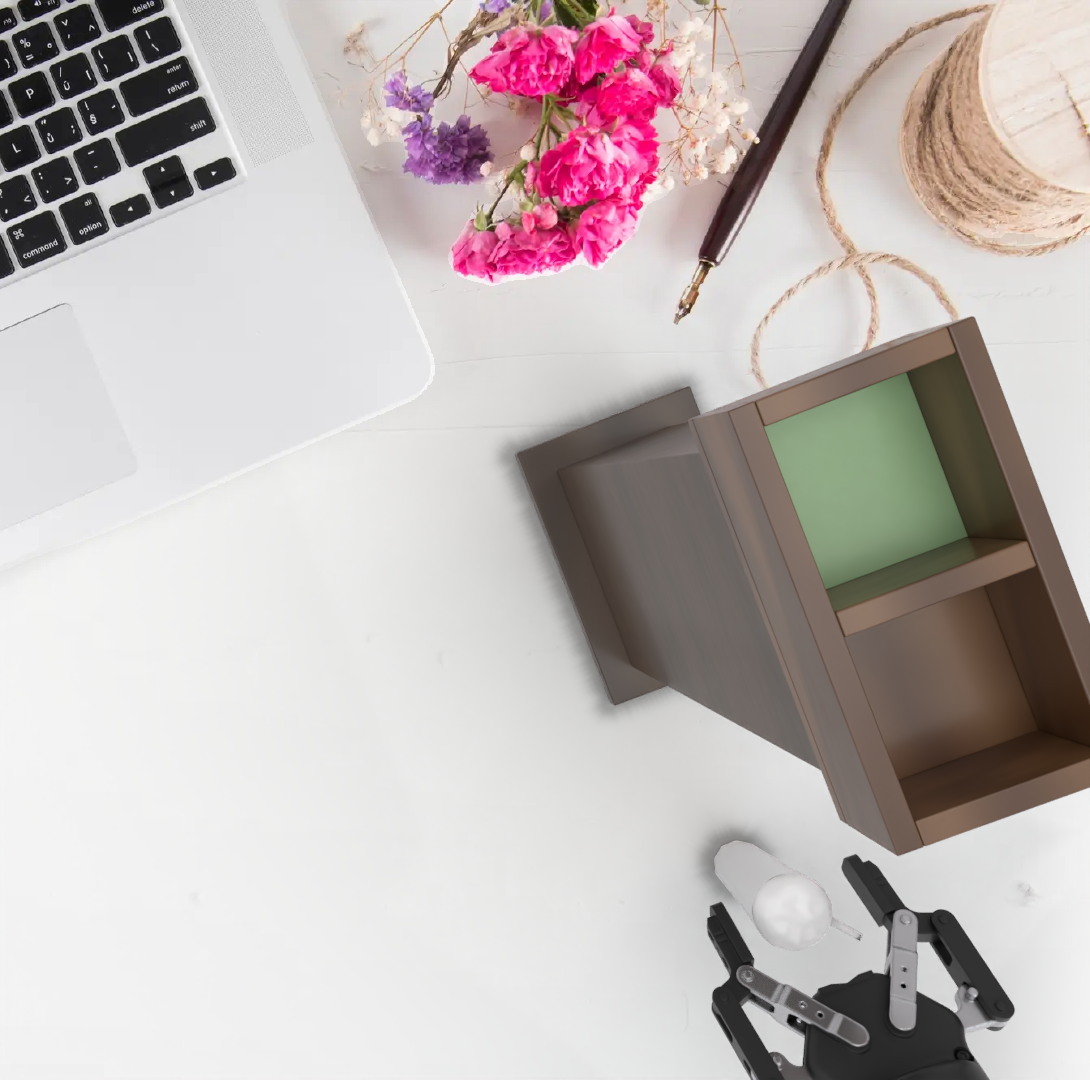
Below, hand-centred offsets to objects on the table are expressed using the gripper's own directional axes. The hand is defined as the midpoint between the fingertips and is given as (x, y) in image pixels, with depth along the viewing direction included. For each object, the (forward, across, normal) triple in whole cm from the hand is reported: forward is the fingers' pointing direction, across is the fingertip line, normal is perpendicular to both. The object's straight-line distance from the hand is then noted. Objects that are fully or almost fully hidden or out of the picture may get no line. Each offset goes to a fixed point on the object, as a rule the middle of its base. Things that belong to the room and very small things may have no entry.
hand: (780, 884), depth 61 cm
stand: (+20, -2, -10) cm, 22 cm away
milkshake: (+4, 0, +6) cm, 7 cm away
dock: (0, -2, -30) cm, 30 cm away
